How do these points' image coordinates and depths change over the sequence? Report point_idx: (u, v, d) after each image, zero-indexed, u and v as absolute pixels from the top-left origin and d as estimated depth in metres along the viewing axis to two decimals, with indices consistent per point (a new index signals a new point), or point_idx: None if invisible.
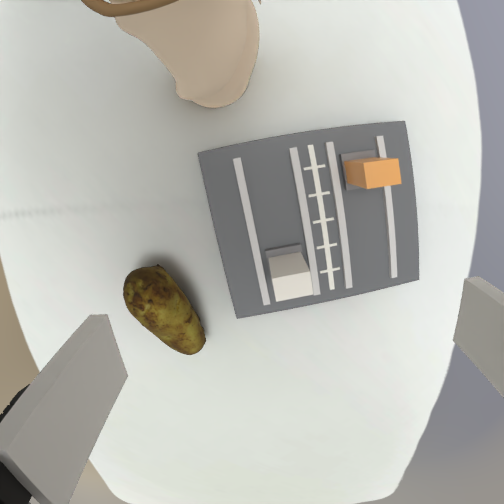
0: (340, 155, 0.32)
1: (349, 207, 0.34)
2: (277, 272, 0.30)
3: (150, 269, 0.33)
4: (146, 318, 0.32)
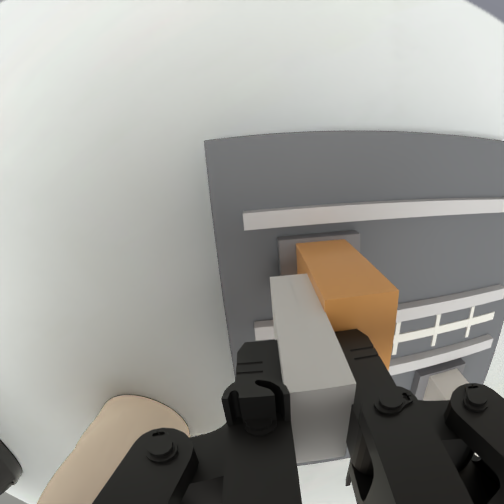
0: None
1: None
2: None
3: None
4: None
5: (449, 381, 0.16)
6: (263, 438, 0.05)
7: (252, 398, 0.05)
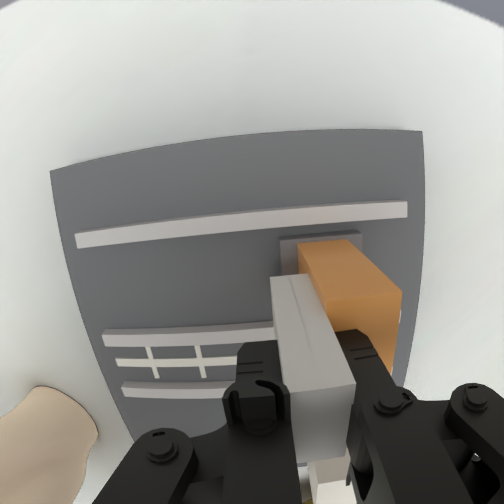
0: None
1: (228, 310, 0.17)
2: (312, 489, 0.14)
3: None
4: None
5: None
6: (263, 438, 0.05)
7: (252, 398, 0.05)
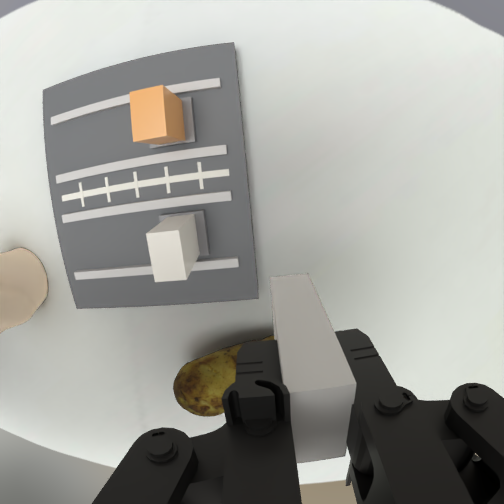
0: (152, 148, 0.26)
1: (123, 151, 0.26)
2: None
3: None
4: (220, 406, 0.27)
5: (177, 217, 0.26)
6: (263, 438, 0.05)
7: (252, 398, 0.05)
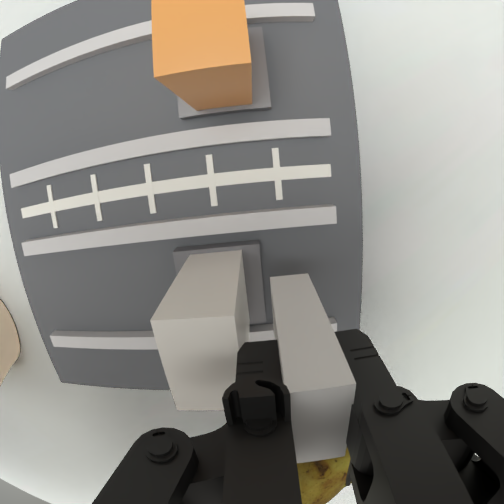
0: (183, 118, 0.13)
1: (125, 125, 0.13)
2: None
3: None
4: None
5: (211, 259, 0.13)
6: (263, 438, 0.05)
7: (252, 398, 0.05)
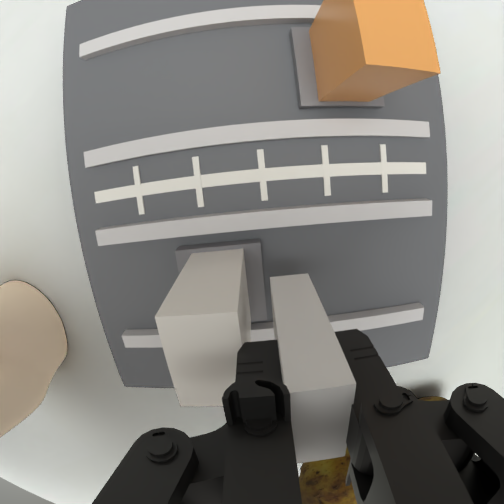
0: (303, 107, 0.13)
1: (235, 108, 0.14)
2: None
3: (300, 485, 0.17)
4: None
5: (213, 258, 0.14)
6: (263, 438, 0.05)
7: (252, 398, 0.05)
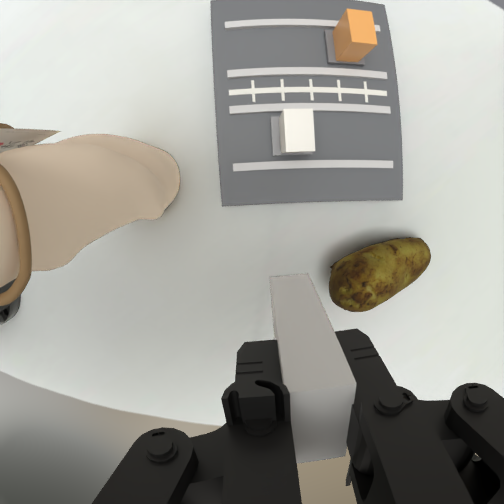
0: (329, 63, 0.28)
1: (300, 61, 0.28)
2: (284, 144, 0.26)
3: (332, 275, 0.31)
4: (381, 293, 0.29)
5: None
6: (263, 438, 0.05)
7: (252, 398, 0.05)
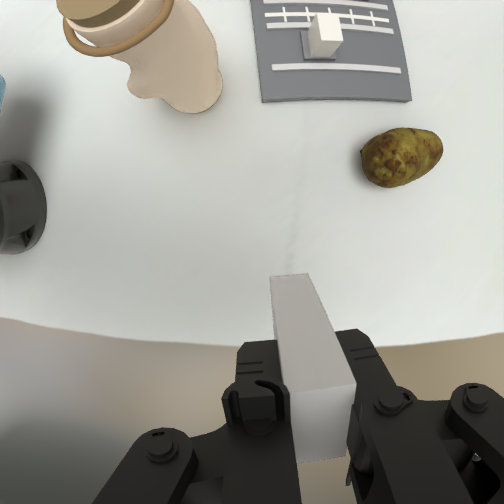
0: None
1: None
2: (318, 39, 0.28)
3: (364, 150, 0.33)
4: (408, 163, 0.32)
5: None
6: (263, 438, 0.05)
7: (252, 398, 0.05)
